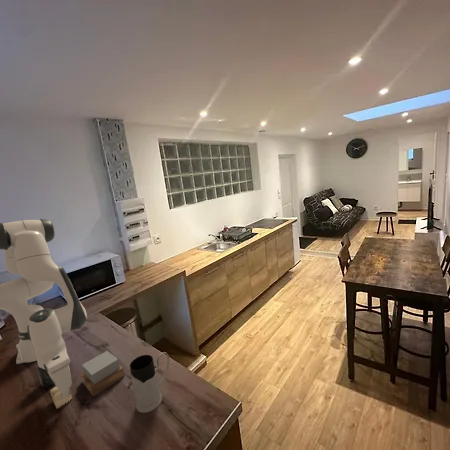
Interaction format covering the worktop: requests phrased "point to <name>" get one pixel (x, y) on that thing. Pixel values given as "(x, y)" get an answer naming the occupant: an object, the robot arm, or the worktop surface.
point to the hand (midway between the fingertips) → (61, 389)
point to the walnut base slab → (102, 381)
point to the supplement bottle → (44, 377)
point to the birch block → (60, 397)
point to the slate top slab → (100, 367)
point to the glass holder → (146, 382)
